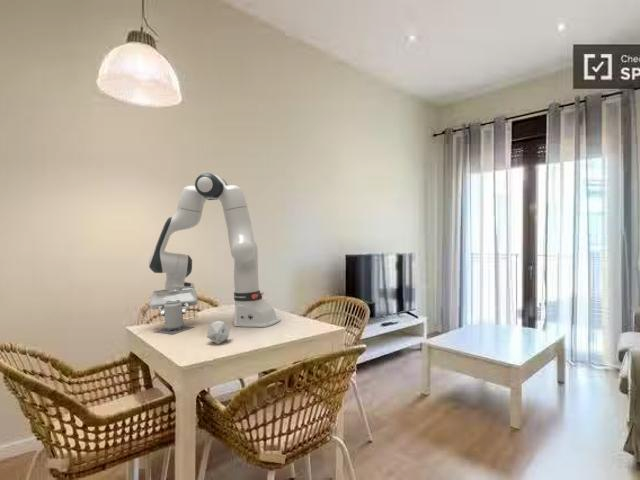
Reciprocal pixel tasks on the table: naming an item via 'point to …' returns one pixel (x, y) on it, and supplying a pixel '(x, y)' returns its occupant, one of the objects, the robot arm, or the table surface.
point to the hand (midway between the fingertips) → (173, 314)
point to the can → (173, 314)
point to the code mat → (173, 330)
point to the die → (218, 332)
